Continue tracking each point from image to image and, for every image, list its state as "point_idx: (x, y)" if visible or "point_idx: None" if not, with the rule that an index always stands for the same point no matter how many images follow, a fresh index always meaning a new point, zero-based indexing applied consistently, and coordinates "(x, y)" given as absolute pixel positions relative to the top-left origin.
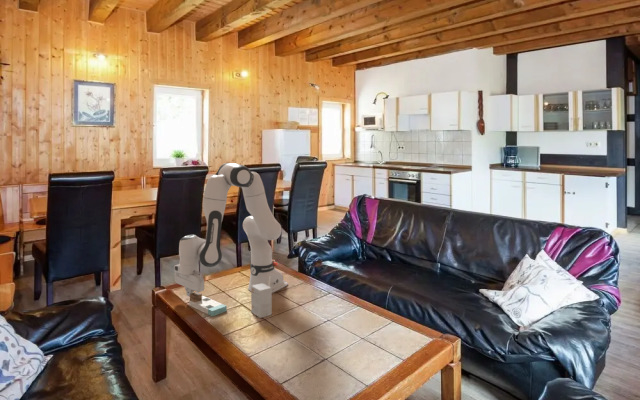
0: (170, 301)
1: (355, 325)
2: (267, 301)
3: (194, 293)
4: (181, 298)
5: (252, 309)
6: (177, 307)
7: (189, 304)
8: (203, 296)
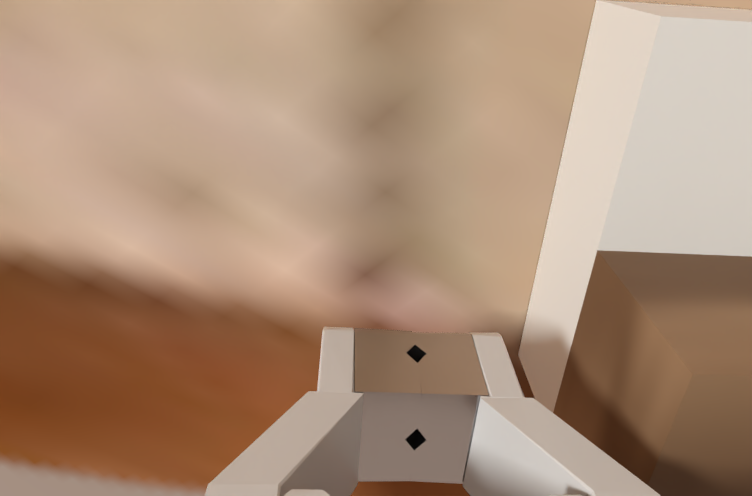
0: (78, 443)
1: None
2: None
3: (723, 493)
4: (54, 252)
5: None
6: (411, 492)
7: (524, 368)
8: (691, 54)
